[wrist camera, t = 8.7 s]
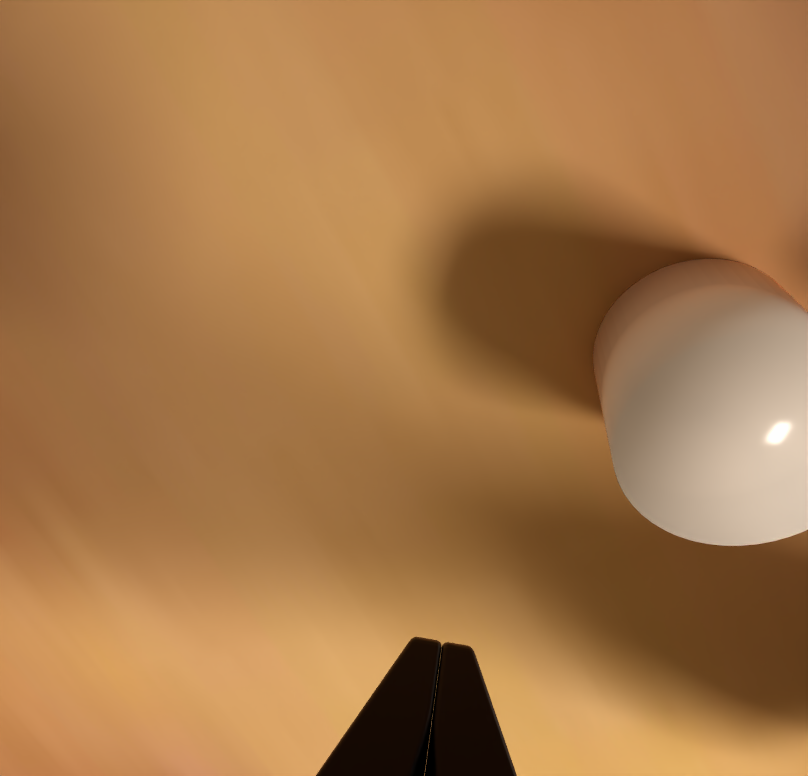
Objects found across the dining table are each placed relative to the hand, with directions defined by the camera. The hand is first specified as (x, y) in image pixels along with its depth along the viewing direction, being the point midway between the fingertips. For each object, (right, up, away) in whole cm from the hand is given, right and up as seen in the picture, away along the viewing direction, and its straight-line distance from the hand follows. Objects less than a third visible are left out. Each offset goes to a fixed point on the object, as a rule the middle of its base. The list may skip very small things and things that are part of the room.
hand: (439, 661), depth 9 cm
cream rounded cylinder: (+8, +5, +10) cm, 14 cm away
